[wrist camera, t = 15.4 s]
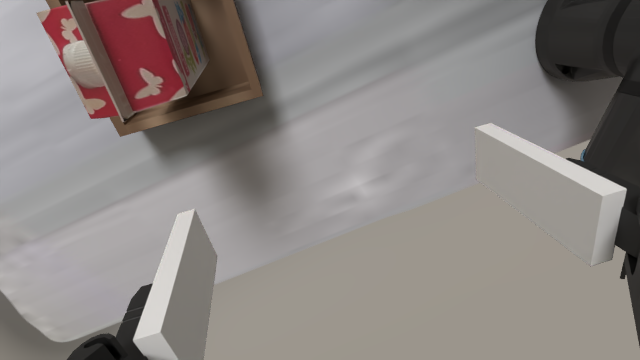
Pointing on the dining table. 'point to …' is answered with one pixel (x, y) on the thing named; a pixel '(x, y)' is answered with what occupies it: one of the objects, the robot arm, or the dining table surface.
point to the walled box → (217, 77)
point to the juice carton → (127, 52)
